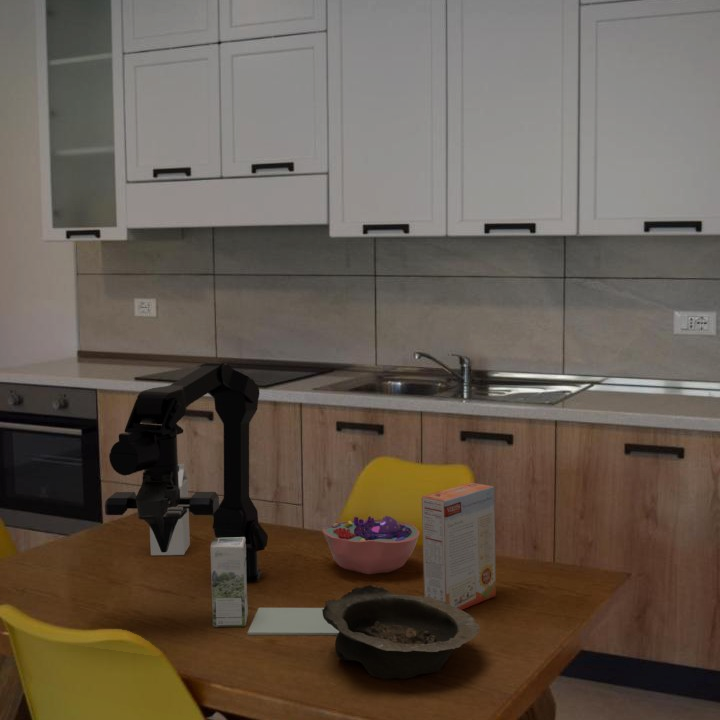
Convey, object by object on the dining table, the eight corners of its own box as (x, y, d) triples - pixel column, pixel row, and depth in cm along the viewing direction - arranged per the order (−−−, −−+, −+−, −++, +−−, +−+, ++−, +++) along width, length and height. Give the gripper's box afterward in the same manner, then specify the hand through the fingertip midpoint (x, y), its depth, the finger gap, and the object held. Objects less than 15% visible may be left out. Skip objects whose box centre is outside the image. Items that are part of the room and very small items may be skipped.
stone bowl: (292, 649, 167) (294, 593, 166) (422, 631, 179) (424, 578, 178) (368, 704, 145) (371, 640, 145) (510, 679, 158) (513, 619, 157)
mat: (259, 609, 186) (258, 607, 186) (348, 610, 185) (347, 608, 185) (247, 634, 174) (247, 632, 174) (342, 635, 173) (342, 632, 173)
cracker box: (471, 590, 195) (470, 480, 192) (497, 597, 190) (496, 485, 188) (421, 609, 185) (420, 494, 183) (447, 617, 181) (446, 499, 178)
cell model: (345, 553, 220) (344, 501, 218) (433, 564, 211) (433, 510, 210) (307, 576, 204) (306, 520, 203) (400, 589, 196) (399, 531, 194)
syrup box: (248, 615, 183) (245, 535, 182) (245, 627, 177) (243, 544, 176) (216, 616, 183) (213, 536, 182) (212, 628, 177) (209, 545, 176)
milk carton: (184, 555, 220) (180, 467, 218) (150, 556, 220) (147, 468, 218) (190, 546, 227) (186, 460, 225) (157, 546, 227) (154, 461, 225)
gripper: (92, 473, 171) (96, 566, 172) (204, 473, 169) (207, 566, 171) (113, 459, 182) (117, 546, 183) (218, 459, 180) (221, 546, 182)
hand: (164, 551), depth 180 cm, fingers closed
